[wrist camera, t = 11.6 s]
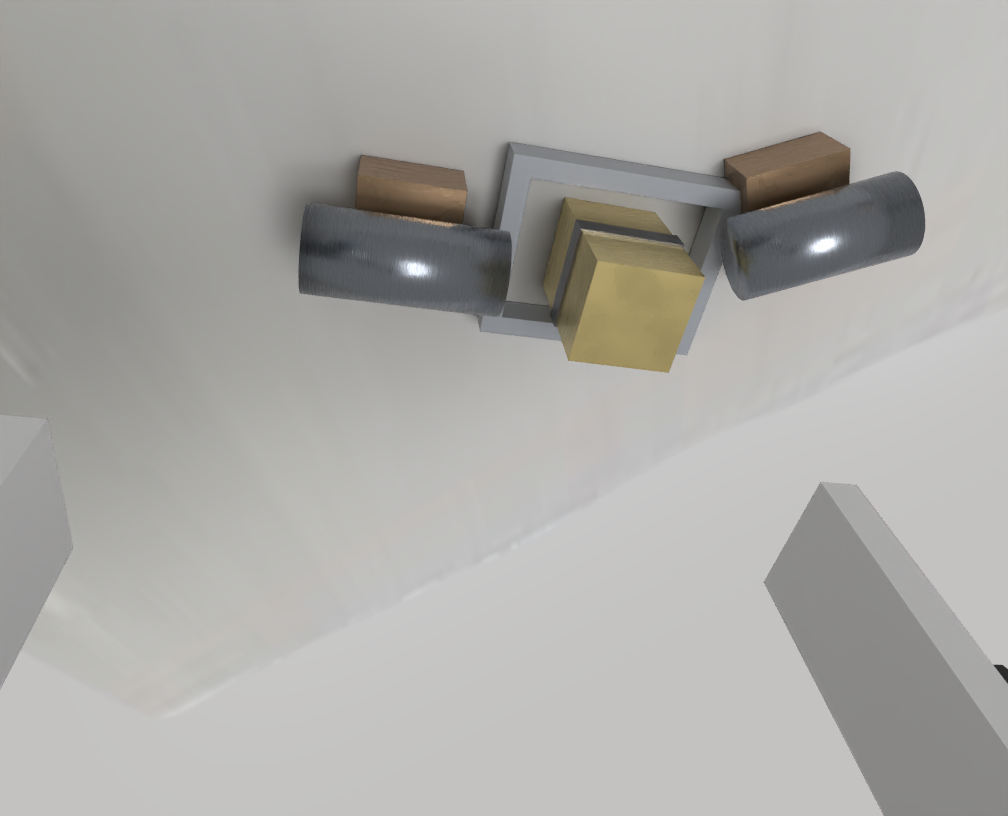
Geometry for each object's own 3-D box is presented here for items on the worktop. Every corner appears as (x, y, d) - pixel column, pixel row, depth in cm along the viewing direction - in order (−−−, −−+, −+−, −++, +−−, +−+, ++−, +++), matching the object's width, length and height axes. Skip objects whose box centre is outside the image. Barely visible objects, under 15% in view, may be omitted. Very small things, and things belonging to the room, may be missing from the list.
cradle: (477, 314, 41) (480, 331, 39) (509, 141, 35) (514, 153, 34) (676, 337, 43) (686, 355, 41) (734, 179, 38) (749, 192, 36)
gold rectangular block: (540, 286, 40) (565, 362, 34) (563, 194, 37) (595, 258, 31) (628, 298, 41) (669, 374, 35) (657, 210, 38) (708, 275, 32)
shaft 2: (705, 271, 41) (753, 332, 35) (695, 167, 37) (747, 217, 31) (846, 232, 40) (918, 287, 34) (850, 123, 37) (931, 165, 31)
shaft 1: (313, 264, 38) (296, 329, 32) (318, 148, 35) (301, 198, 29) (482, 285, 40) (494, 351, 34) (503, 177, 36) (520, 229, 31)
